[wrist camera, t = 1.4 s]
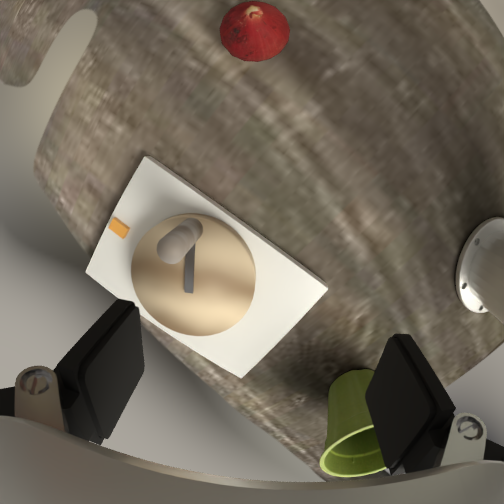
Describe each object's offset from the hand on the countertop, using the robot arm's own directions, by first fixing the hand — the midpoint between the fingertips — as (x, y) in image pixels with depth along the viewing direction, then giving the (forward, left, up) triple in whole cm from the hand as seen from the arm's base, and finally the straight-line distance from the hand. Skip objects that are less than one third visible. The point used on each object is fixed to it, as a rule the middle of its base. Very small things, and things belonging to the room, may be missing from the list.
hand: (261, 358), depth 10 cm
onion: (+11, -14, -20) cm, 27 cm away
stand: (+3, +9, -20) cm, 22 cm away
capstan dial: (+3, +8, -18) cm, 20 cm away
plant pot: (-22, +10, -20) cm, 32 cm away
